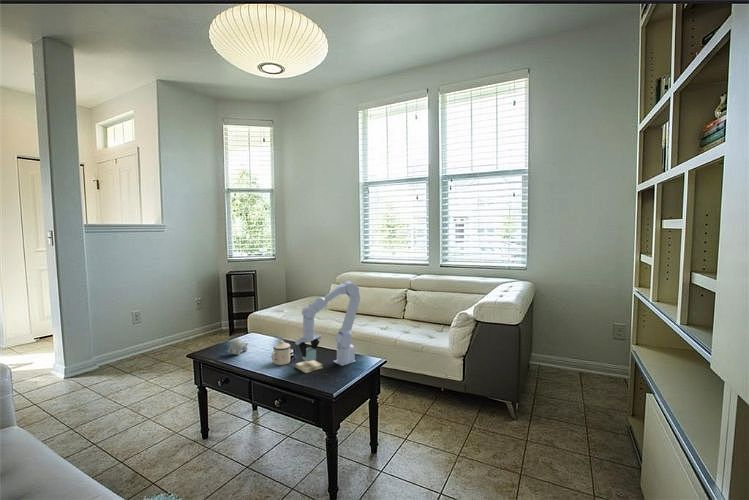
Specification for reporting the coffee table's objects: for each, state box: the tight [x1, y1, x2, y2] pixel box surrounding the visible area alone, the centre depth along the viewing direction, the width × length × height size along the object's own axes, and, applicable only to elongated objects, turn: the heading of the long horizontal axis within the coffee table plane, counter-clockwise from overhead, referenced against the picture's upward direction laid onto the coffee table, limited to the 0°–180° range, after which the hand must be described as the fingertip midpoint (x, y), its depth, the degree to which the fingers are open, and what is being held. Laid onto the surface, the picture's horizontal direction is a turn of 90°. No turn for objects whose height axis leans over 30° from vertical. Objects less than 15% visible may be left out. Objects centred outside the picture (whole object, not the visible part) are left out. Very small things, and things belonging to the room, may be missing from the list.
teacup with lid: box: [271, 340, 292, 366], centre depth 191 cm, size 12×9×12 cm
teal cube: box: [302, 347, 317, 362], centre depth 184 cm, size 5×5×5 cm
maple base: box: [295, 359, 323, 374], centre depth 185 cm, size 10×10×2 cm
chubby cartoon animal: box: [226, 338, 249, 356], centre depth 205 cm, size 7×12×8 cm, turn 144°
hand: (308, 355), depth 184 cm, fingers closed on teal cube, 5 cm apart
